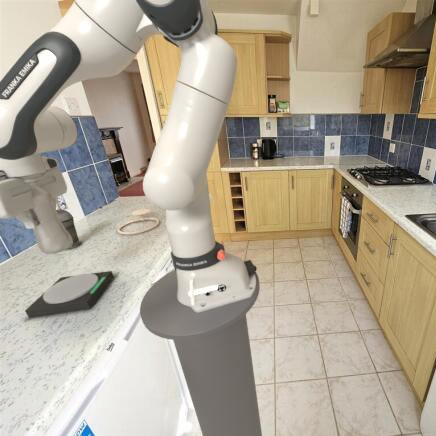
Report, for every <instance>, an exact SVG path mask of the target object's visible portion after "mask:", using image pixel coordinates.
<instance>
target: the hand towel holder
mask: <svg viewBox="0 0 436 436" xmlns="http://www.w3.org/2000/svg"><path fill="white" fill-rule="evenodd" d="M150 212H151V210H150V209H149V208H142V209H137V210H135V211H133V212H131V213H130V215H131V216H133V217H140V218H135V219H132V220H129V221H126V222H124V223H122V224H121V225H120V226H118V228H117V233H119V234H120V235H125V236H128V235H129V236H132V235H139V234H142V233H146V232H149V231H152V230H153V229H155V228H157V226H159V224H160V220H159V219H158V218H156V217H151V216H150V217H149V216H148V217H145V215H147V214H149V213H150ZM151 220H152V221H156V223H155V224H154V225H152V226H150V227H147V228H145V229H141V230H136V231H121V229H122V228H124V227H125V226H128V225H130V224H133V223H136V222H144V221H151Z"/></svg>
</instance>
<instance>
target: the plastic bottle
mask: <svg viewBox="0 0 436 436" xmlns="http://www.w3.org/2000/svg"><path fill="white" fill-rule="evenodd" d="M37 183H38V181H34V182H31V183H29V185H31V190H33V191H32V201H33V203H34V205H35V207H34V208H32V209H30V210H29V213H30V214H29V216H30V217H31V218H32V219H37V221H38V223H39V225H38V226H37V227H35V228H32V230H33V233H34V236H35V238H36V244H37V247H38V249H39V250H40V251H41V252H42V253H44V254H46V255H52V254H57V253H61V252H65V251H66V250H69V249H68V248H70V247H71V246H72V244H73V241H72V237H71V235H70V234H69V233H68V232H67V231H66V229H65V227H64V226H63V224H62V222H61V221H60V218H59V216H58V213H57V211H56V210H57V206H56V207H55V203H54V200H53V196H52V194H51V193H50V192H49V191H47V190H46V189H44V188H42V187H40V186H38V185H37Z"/></svg>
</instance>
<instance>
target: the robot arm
mask: <svg viewBox="0 0 436 436" xmlns="http://www.w3.org/2000/svg"><path fill="white" fill-rule="evenodd" d="M218 34H219V29H218V23H217V19H216V16H215V14H214V11H213V10H212V8H211V5H210V3H209V1H208V0H74V1H73V3H72V4H71V6H70V7H69V9H68V10H67V11H66V12H65V14H64V15H63V16H62V18H61V19H60V20H59V21H58V22H57V23H56V24H55V25H54V26H53V27H52V28H50V29H49V30H48V31H47V32H45V33H44V34H42V35H41V36H39V37H38V38H37V39H36V40H35V41H34V42H32V43H31V44H30V45H29V47H28V48H27V49H25V51H24V52H23V53H22V54H21V55H20V57H19V58H18V59H17V60H16V62H15V63H14V64H13V65H12V67H11V68H10V69H9V70H8V71H7V72H6V74H5V75H4V76H3V78H1V80H0V220H5V219H6V220H7V219H12V218H15V219H17V220H18V221H20V222H21V223H23V225H24V227H25V229H27V230H28V229H29V230H30V229H31V230H33V228H35V227H37V226H38V225H39V223H38V221H37V219H32V218H31V217H30V216H29V214H30V213H29V210H30V209H32V208H34V207H35V205H34V203H33V201H32V191H33V190H31V185H29V183H31V182H34V181H38V183H37V185H38V186H40V187H42V188H44V189H46V190H47V191H49V192H50V193H51V194H52V196H53V200H54V203H55V207H56V208H57V201H56V199H55V198H58V197H60V196H62V195H64V194H66V193H67V191H68V186H67V183H66V180H65V177H64V175H63V173H62V171H61V170H60V168H59V167H60V164H59V161H58V159H56V158H54V157H48V156H44V155H41V154H43V153H49V152H54V151H59V150H63V149H66V148H69V147H71V146H74V144H75V143H76V142H77V141H78V138H79V130H78V126H77V124H76V122H75V120H74V119H73V117H72V116H71V115H70V114H69V113H68V112H66V111H65V110H63V109H62V108H59V107H57V106H54V105H52V104H53V103H54V102H55V101H56V100H57V98H58V97H59V96H60V95H61V93H62V92H63V91H65V90H66V89H67V88H69V87H71V86H73V85H75V84H77V83H80V82H84V81H88V80H93V79H101V78H111V77H115V76H118V75H119V74H121V73H122V72H123V71H124V70H125V69H126V68H128V67H129V65H130V64H131V63H132V62H133V61H134V59H136V56H137V55H138V54H139V52H140V51H141V49H142V48H143V46H144V44H145V43H147V41H148V40H149V39H150V38H151V37H153V36H162V37H163V39H164V40H165V41H166V42H168V43H170V44H172V45H173V46H176V47H177V48H179V52H180V64H179V70H178V73H177V77H176V80H175V84H174V88H173V91H172V95H171V99H170V103H169V107H168V112H167V115H166V119H165V121H164V124H163V126H162V129H161V131H160V133H159V136H158V139H157V141H156V144H155V147H154V149H153V152H152V155H151V157H150V160H149V163H148V167H147V169H146V171H145V173H144V177H143V180H142V190H143V193H144V196H145V198H146V199H147V200H148V201H149V202H150V203H151V204H152V205H153V206H155V207H157V208H158V209H160V210H164V211H165V223H164V225H165V230H166V233H167V238H168V241H169V246H170V249H171V252H170V257H171V262H172V266H173V268H174V270H175V271H176V272H177V281H178V290H177V299H178V301H179V302H180V303H182V304H183V305H186V306H189V307H191V308H192V309H193V310H194V311H195V312H197V313H199V312H203V311H206V310H209V309H213V308H216V307H219V306H223V305H226V304H229V303H233V302H236V301H240V300H243V299H246V298H249V297H251V296H252V295H253V294H254V292H255V290H256V277H255V274H256V273H257V269H258V268H257V266H256V265H254V263H253V262H252V260H251V259H248V260H243V259H242V258H241V257H239V256H236V255H234V254H231V253H229V252H227V251H225V249H226V248H225V245H224V242H223V240H220V241H221V242H219V241H217V240H216V238H215V236H216V235H215V231H214V224H213V219H212V209H211V199H210V190H209V182H208V173H207V172H208V169H209V166H210V163H211V161H212V157H213V156H214V151H215V148H216V145H217V142H218V139H219V137H220V134H221V131H222V127H223V124H224V121H225V118H226V115H227V112H228V110H229V105H230V102H231V99H232V95H233V92H234V87H235V82H236V78H237V77H236V76H237V69H238V58H237V54H236V52H235V50H234V48H233V47H232V46H231V44H229V43H228V42H227V41H226V40H225V39H224V38H223V37H221V36H219V35H218ZM57 210H58V209H56V211H57Z"/></svg>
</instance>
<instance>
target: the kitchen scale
mask: <svg viewBox="0 0 436 436" xmlns="http://www.w3.org/2000/svg"><path fill="white" fill-rule="evenodd" d="M114 278H115V276H114V274H113V271H112V270H108V271H107V270H106V271H101V272H100V271H99V272H93V273H92V272H91V273H81V274H76V275H70V276H61V277H60V278H58V279H57V280H55V282H54V283H53V284H52V285H51V286H50V287H49V288H47V290H45V291H44V292H43V293H42V294H41V295H40V296H39V297H38V298H37V299H36V300H35V301H34V302H32V303H31V304H30V305H29V306H28V307H27V308H26V309H25V310H24V312H25V314H26V316H27V317H28V318H29V319H33V318H40V317H47V316H52V315H60V314H66V313H73V312H78V311H79V312H80V311H84V310H85V311H87V310H91V309H92V307H93V306H94V305H95V304H96V302H97V301H98V299H99V298H100V297H101V296H102V294H103V293H104V291H105V290H106V289H107V287H108V286H109V285H110V284H111V282H112V281H113V279H114Z"/></svg>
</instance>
